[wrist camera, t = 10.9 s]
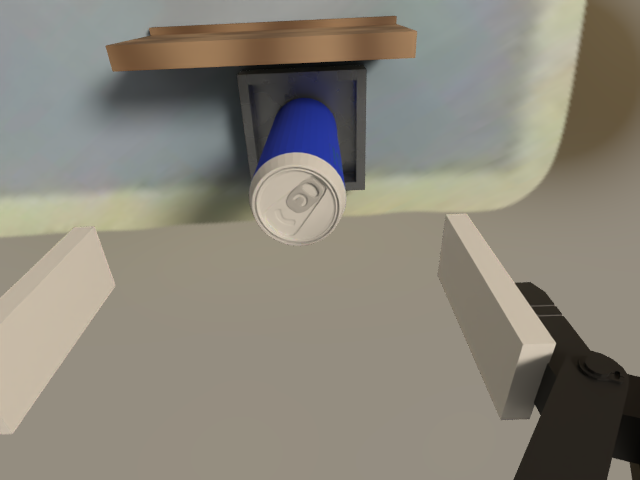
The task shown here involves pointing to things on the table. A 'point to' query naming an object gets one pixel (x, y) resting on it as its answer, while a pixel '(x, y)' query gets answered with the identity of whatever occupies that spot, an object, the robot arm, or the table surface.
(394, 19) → the board
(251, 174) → the tray
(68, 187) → the table surface
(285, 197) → the beverage can
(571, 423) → the robot arm
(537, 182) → the table surface
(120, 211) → the table surface
